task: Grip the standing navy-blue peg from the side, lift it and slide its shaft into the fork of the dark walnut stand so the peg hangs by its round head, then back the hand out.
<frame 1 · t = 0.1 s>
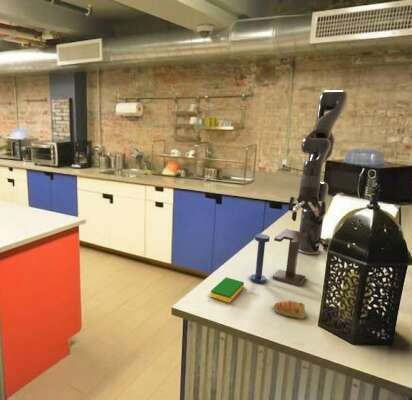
hand: (304, 222, 159), 17 cm above the counter, tool pointing down, fingers open, 8 cm apart
dish sponge: (227, 292, 134), on the counter
pastry: (290, 313, 121), on the counter
stand: (289, 278, 145), on the counter
peg: (258, 280, 144), on the counter
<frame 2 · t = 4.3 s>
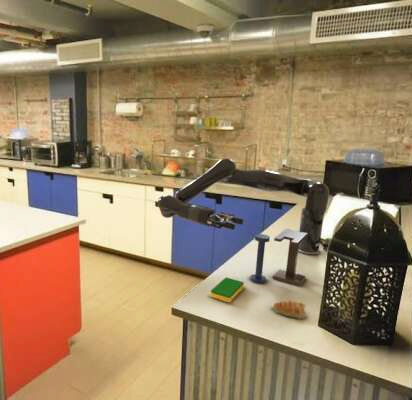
hand: (239, 224, 144), 21 cm above the counter, tool horizontal, fingers open, 8 cm apart
nothing on the counter moved.
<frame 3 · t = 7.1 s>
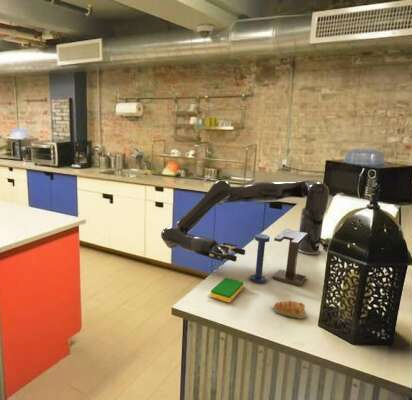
hand: (240, 255, 147), 8 cm above the counter, tool horizontal, fingers open, 8 cm apart
nothing on the counter moved.
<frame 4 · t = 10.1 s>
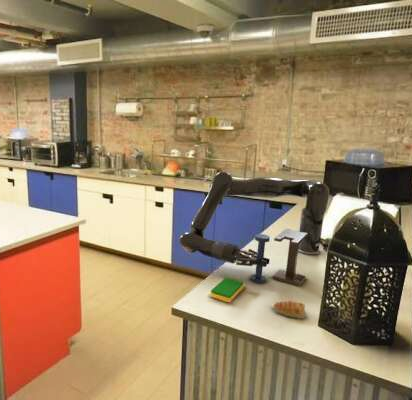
hand: (267, 262, 140), 8 cm above the counter, tool horizontal, fingers closed on peg, 2 cm apart
peg: (258, 280, 144), on the counter, touching gripper
everything else where it was.
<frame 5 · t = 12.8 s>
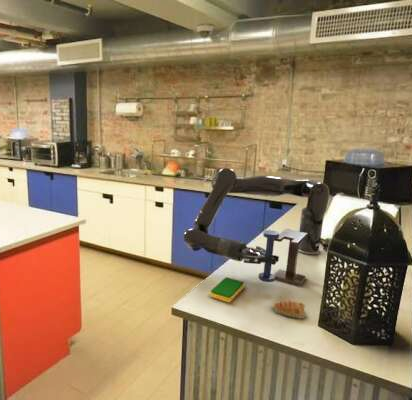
hand: (276, 260, 133), 12 cm above the counter, tool horizontal, fingers closed on peg, 2 cm apart
peg: (266, 278, 136), point 4 cm above the counter, touching gripper
everything else where it was.
when the fingers open (11 cm above the counter, at t = 15.7 s): peg stays where it is, resting on stand.
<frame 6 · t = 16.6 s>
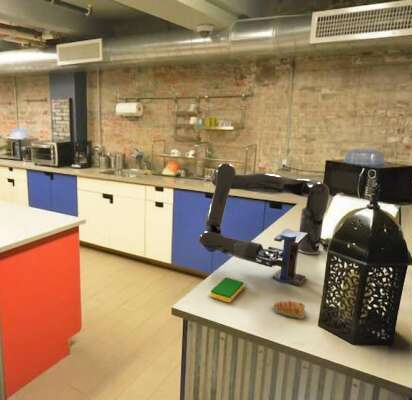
hand: (290, 261, 135), 11 cm above the counter, tool horizontal, fingers open, 8 cm apart
peg: (283, 280, 138), point 2 cm above the counter, touching stand
everything else where it was.
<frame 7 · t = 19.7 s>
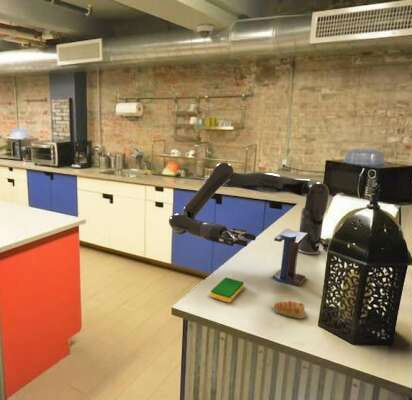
hand: (251, 240, 143), 15 cm above the counter, tool horizontal, fingers open, 8 cm apart
nothing on the counter moved.
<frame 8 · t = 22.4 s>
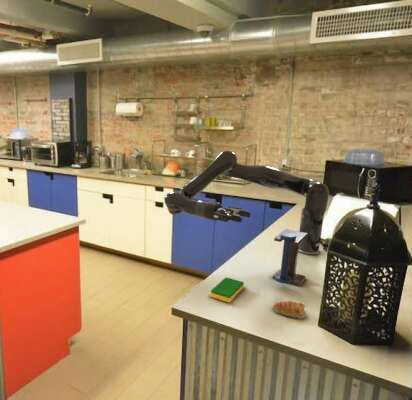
hand: (246, 217, 143), 24 cm above the counter, tool horizontal, fingers open, 8 cm apart
nothing on the counter moved.
at the end: peg 0.1 cm from the target spot on the stand, point 2.5 cm above the stand's base; peg touching stand; the gripper is holding nothing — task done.
